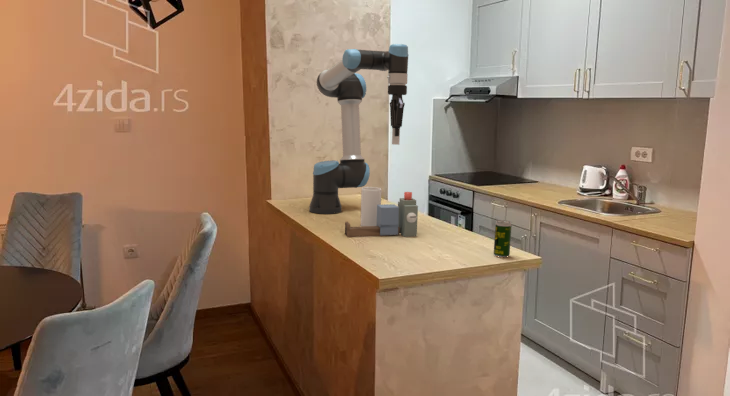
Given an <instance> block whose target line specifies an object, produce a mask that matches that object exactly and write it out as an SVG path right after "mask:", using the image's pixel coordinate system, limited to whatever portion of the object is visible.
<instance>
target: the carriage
mask: <svg viewBox="0 0 730 396" xmlns="http://www.w3.org/2000/svg"><path fill="white" fill-rule="evenodd" d="M398 218H399V207H398V205H396V204H395V203H394V204H393V203H391V204H381V205H377V226H379V227H380V235H387V236H399V235H398Z"/></svg>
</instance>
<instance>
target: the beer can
mask: <svg viewBox="0 0 730 396" xmlns="http://www.w3.org/2000/svg"><path fill="white" fill-rule="evenodd" d="M494 225H495V226H494V240H493V242H494V243H493V255H495V256H499V257H507V256H509V257H510V253H511V241H512V240H511V239H512V236H511V235H512V222H511V221H510V220H504V219H503V220H501V219H500V220H496V221H495V224H494ZM495 256H494V257H495ZM499 257H498V258H499ZM507 258H508V257H507Z"/></svg>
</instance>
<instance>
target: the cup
mask: <svg viewBox="0 0 730 396" xmlns="http://www.w3.org/2000/svg"><path fill="white" fill-rule="evenodd" d="M360 197H361V198H360V200H361V201H360V226H377V205H382V188H381V187H377V186H363V187H361V196H360Z"/></svg>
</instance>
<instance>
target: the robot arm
mask: <svg viewBox="0 0 730 396" xmlns="http://www.w3.org/2000/svg"><path fill="white" fill-rule="evenodd" d="M388 47H389V49H388V50H386V51H385V50H384V51H383V50H371V49H370V50H367V49H356V48H350V49H349V48H347V49H345V51H344V52H343V55H342V58H341V60H340V61H338V62H337V63H336V64H334V65H333V66H332V67H331V68H329V69H324V70H322V71H321V72H320V73H319V74H318V76H317V77H316V88H317V89H318V91H319V92H320V93H321V94H322V95H323V96H325V97H329V98H337V104H339V106H340V110H341V111H340V112H341V114H340V115H341V116H340V117H341V118H340V119H341V134H342V137H341V138H342V139H341V141H342V157H341V158H340V159H339V161H338V160H324V161H319V162H316V163H315V164H314V165H313V171H312V177H313V178H312V181H313V182H312V183H313V184H312V185H313V187H312V189H313V190H312V191H313V192H312V198H311V200H310V202H309V203H310V204H309V207H308V208H309V212H311V213H314V214H319V215H322V214H323V215H328V214H329V215H331V214H339V213H342V208H343V207H342V204H341V200H340V197H339V189H350V188H351V189H352V188H355V189H357V188H363V187H366V185H367V184H368V182H369V180H370V179H369V178H370V173H371V170H370V166H369V164H368V163H367V162H365V158H364V157H363V156H362V151H361V150H362V148H361V147H362V146H361V145H362V144H361V142H362V141H361V124H360V123H361V121H360V120H361V119H360V105H361V103H362V102H363V99H364V98H365V97H366V95H367V84H366V80H365V77H363V75H362V74H360V73H358V72H359V71H360V70H372V71H373V70H374V71H379V72H387V71H388V75H387V76H386V78H387V79H388V80H387V82H388V83H387V84H389V85H387V95H390V96H392V97H391V100H390V102H389V109H390V111H389V112H390V127H391V128H392V129H391V130H392V131H391V145H393V146H394V145H398V146H399V145H400V136H401V135H400V133H401V131H400V130H401V128H402V126H403V118H404V111H405V109H404V108H405V102H404V99H403V96H406V95H407V94H408V86H407V84H408V68H409V67H408V66H409V46H408V45H407V44H402V43H393V44H392V43H391V44H390V45H389V46H388Z"/></svg>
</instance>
